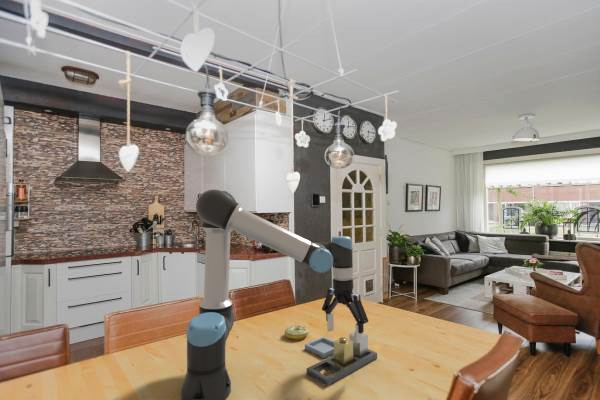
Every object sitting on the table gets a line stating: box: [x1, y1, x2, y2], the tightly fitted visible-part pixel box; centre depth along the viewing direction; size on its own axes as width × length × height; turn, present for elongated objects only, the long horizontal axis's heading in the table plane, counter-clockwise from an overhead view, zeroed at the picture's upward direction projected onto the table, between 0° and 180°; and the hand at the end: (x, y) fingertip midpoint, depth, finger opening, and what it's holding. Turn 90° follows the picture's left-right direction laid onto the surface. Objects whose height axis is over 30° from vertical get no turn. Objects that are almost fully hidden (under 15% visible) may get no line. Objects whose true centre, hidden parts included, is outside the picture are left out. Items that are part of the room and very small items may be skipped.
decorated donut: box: [284, 324, 309, 341], centre depth 140 cm, size 10×11×4 cm
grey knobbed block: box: [348, 330, 369, 359], centre depth 120 cm, size 5×5×10 cm
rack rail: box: [306, 348, 378, 387], centre depth 114 cm, size 28×10×2 cm, turn 132°
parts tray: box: [304, 336, 335, 360], centre depth 127 cm, size 11×11×2 cm
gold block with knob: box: [333, 337, 353, 367], centre depth 114 cm, size 5×5×10 cm
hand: (344, 336), depth 114 cm, fingers open, 13 cm apart
